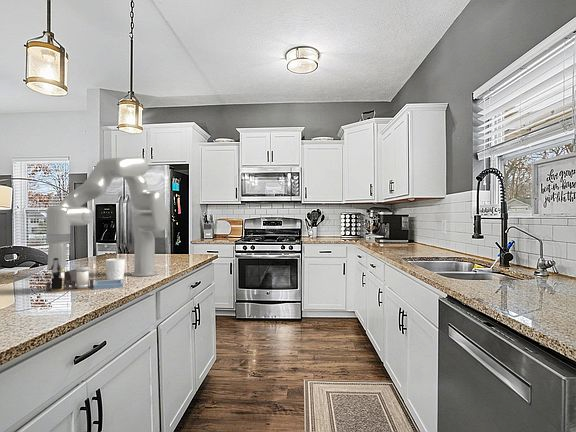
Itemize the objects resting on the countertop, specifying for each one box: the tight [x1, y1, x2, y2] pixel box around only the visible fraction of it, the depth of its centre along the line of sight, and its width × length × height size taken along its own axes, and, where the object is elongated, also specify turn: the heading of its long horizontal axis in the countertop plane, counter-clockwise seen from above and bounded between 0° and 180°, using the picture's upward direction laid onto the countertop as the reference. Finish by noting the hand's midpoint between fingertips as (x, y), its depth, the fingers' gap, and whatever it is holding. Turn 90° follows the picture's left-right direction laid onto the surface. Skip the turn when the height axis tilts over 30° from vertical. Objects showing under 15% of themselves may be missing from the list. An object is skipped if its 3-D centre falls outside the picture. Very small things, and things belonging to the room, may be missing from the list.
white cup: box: [105, 257, 126, 280], centre depth 154 cm, size 8×8×10 cm
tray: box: [92, 278, 124, 291], centre depth 136 cm, size 10×10×3 cm
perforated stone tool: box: [64, 269, 77, 286], centre depth 145 cm, size 15×5×7 cm, turn 4°
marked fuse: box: [50, 267, 66, 291], centre depth 129 cm, size 4×4×8 cm
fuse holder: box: [44, 278, 94, 294], centre depth 131 cm, size 10×15×4 cm, turn 116°
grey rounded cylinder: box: [75, 266, 90, 289], centre depth 133 cm, size 4×4×8 cm
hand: (57, 287), depth 129 cm, fingers closed on marked fuse, 4 cm apart
